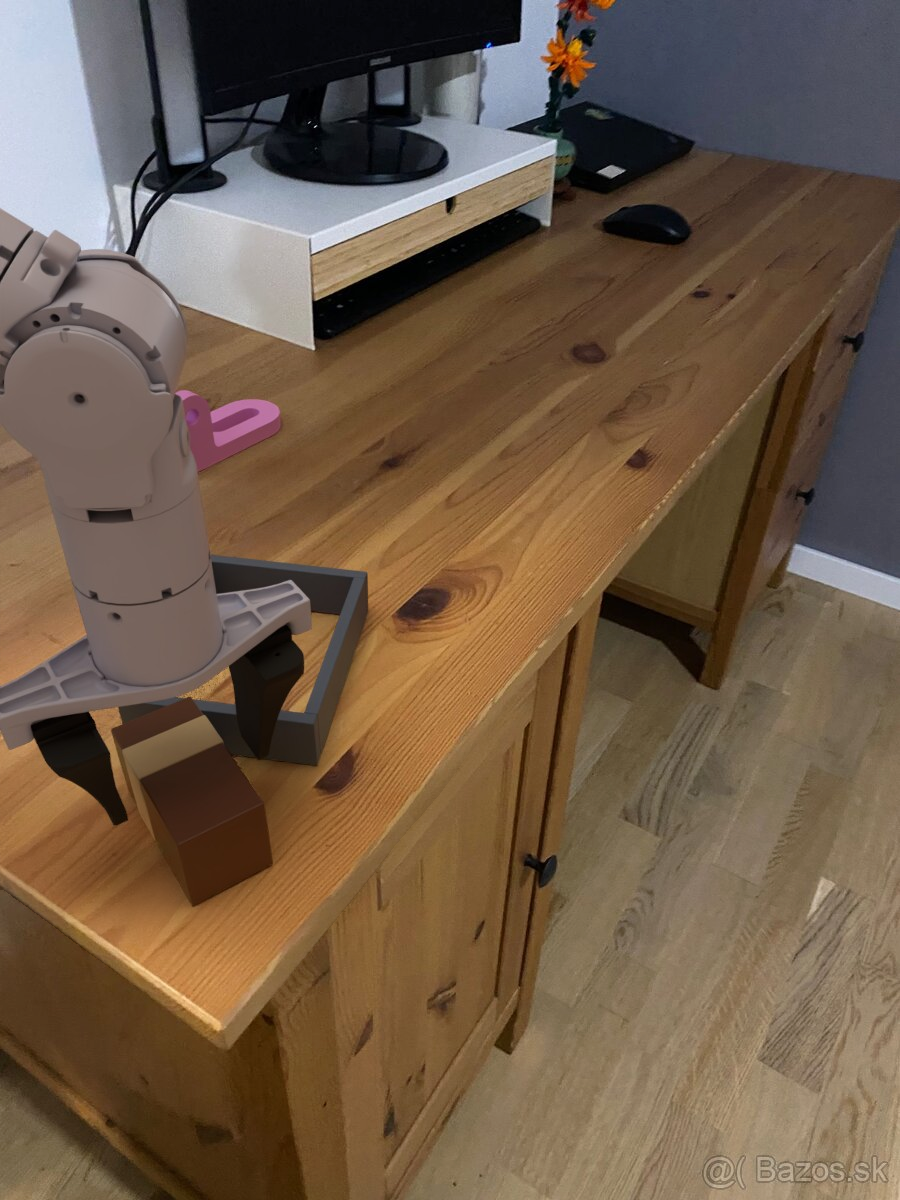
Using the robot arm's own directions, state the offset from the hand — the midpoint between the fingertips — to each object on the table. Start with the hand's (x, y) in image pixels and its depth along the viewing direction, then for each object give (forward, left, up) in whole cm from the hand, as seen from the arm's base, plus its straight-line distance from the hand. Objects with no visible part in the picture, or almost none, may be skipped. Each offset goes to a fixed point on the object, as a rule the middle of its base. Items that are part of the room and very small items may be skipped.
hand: (187, 776), depth 47 cm
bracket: (-13, +42, -4) cm, 44 cm away
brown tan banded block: (0, 0, -4) cm, 4 cm away
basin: (0, +13, -4) cm, 13 cm away
